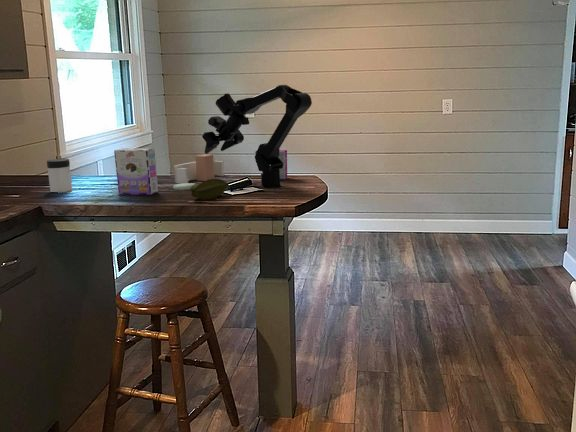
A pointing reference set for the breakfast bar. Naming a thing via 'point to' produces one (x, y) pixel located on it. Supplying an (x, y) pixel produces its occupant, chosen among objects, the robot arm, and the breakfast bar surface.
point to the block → (204, 167)
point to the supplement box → (284, 159)
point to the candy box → (136, 171)
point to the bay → (194, 171)
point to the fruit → (208, 189)
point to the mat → (183, 186)
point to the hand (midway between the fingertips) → (213, 151)
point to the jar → (59, 175)
